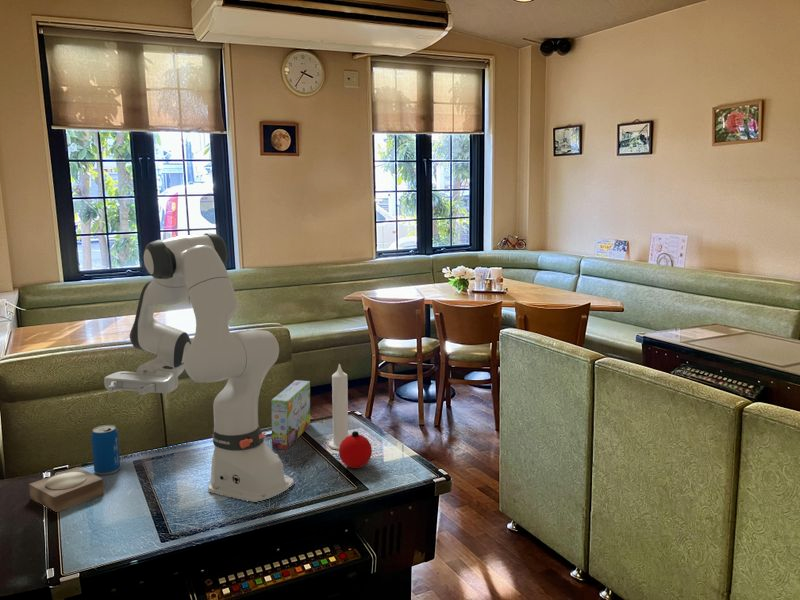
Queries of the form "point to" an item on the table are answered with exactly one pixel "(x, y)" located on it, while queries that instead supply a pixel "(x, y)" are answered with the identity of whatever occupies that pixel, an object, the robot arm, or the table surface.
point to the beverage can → (105, 449)
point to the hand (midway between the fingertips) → (125, 390)
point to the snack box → (290, 414)
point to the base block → (66, 489)
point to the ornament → (355, 450)
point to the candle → (339, 408)
